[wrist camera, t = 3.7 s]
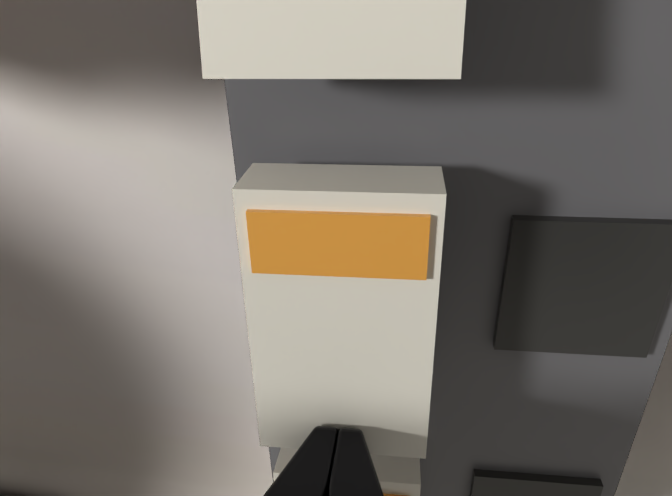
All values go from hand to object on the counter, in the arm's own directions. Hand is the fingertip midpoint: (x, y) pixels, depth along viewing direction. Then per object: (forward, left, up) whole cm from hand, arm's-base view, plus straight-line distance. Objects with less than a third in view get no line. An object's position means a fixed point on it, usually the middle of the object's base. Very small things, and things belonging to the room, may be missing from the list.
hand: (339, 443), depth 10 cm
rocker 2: (+2, 0, -1) cm, 2 cm away
